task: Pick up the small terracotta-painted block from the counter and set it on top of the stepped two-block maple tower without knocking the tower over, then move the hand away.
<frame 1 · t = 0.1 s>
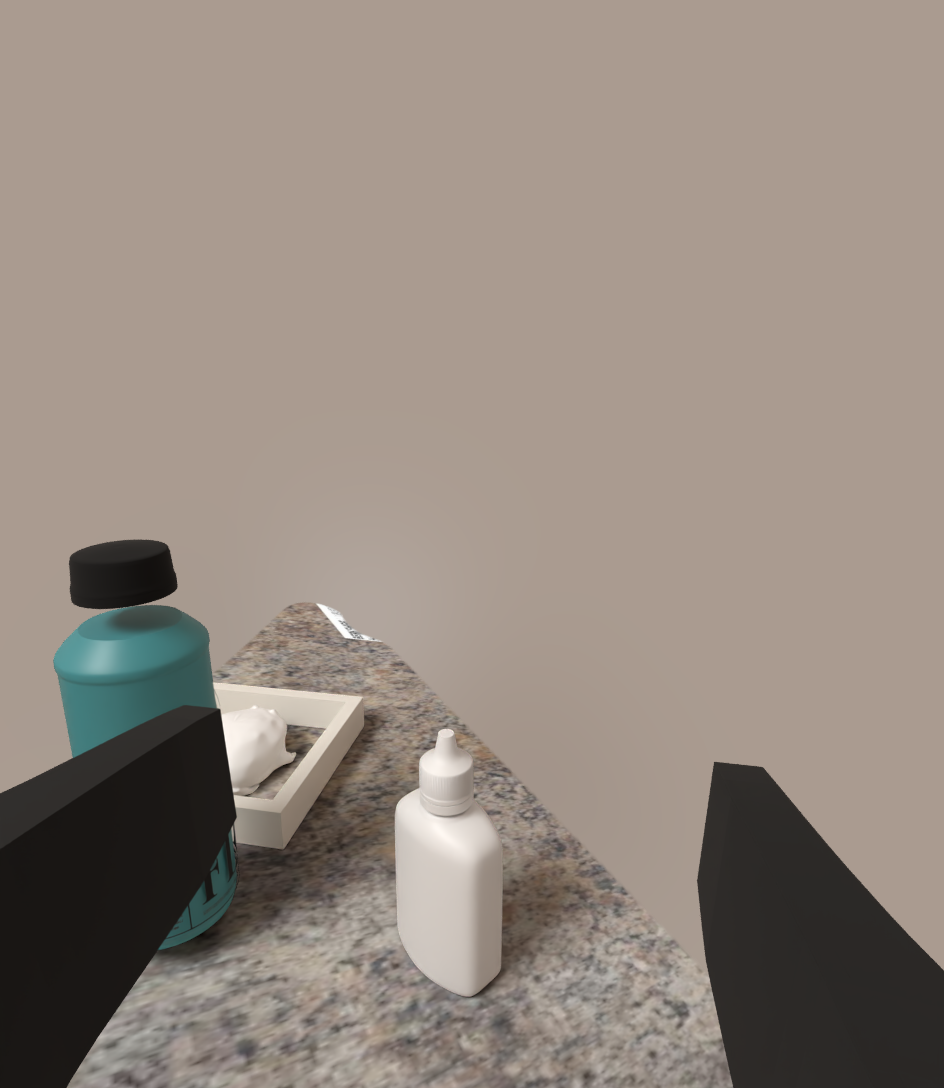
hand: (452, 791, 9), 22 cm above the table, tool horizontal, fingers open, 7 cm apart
beverage bottle: (175, 927, 33), on the table
white rounded lump: (240, 771, 47), resting in garlic dish
eye dropper bottle: (447, 955, 32), on the table
garlic dish: (236, 767, 46), on the table
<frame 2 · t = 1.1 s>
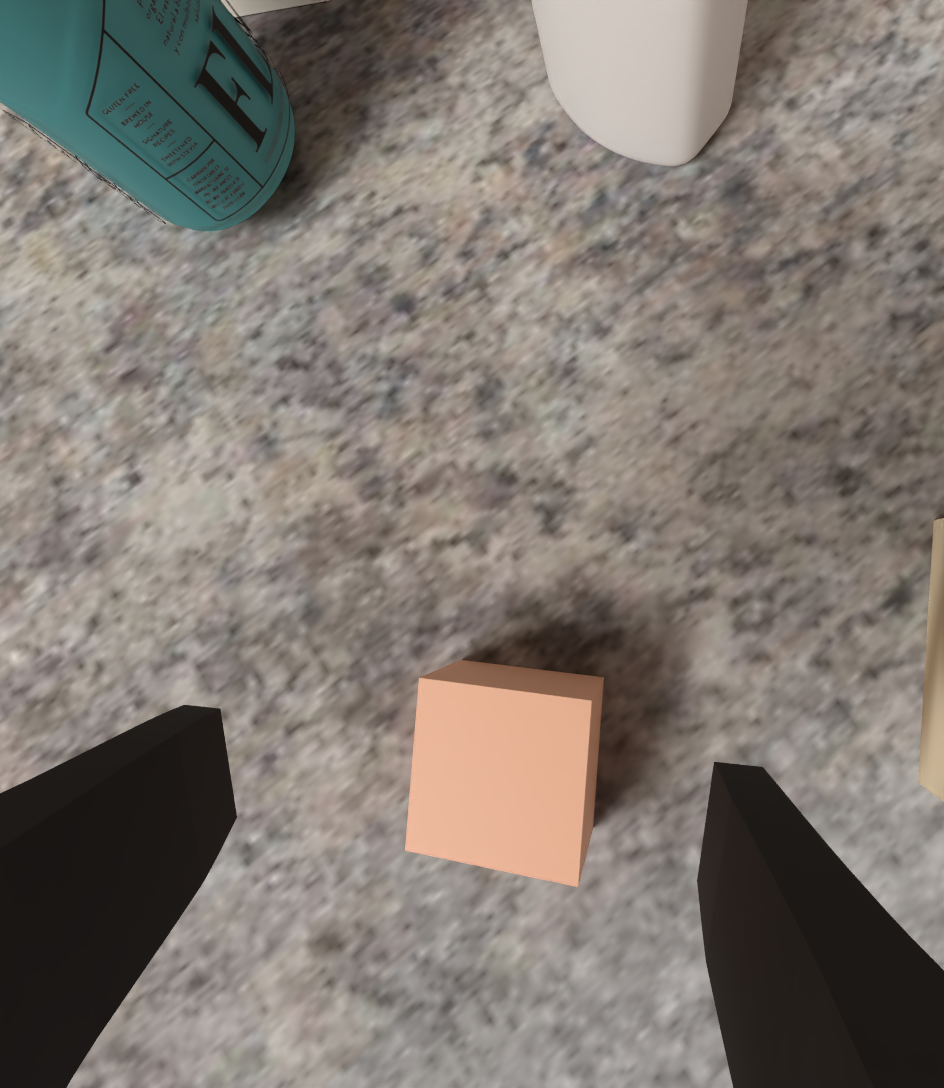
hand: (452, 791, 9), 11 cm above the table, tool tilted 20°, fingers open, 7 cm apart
beverage bottle: (246, 176, 24), on the table
eye dropper bottle: (636, 106, 20), on the table
terracotta block: (525, 740, 20), on the table
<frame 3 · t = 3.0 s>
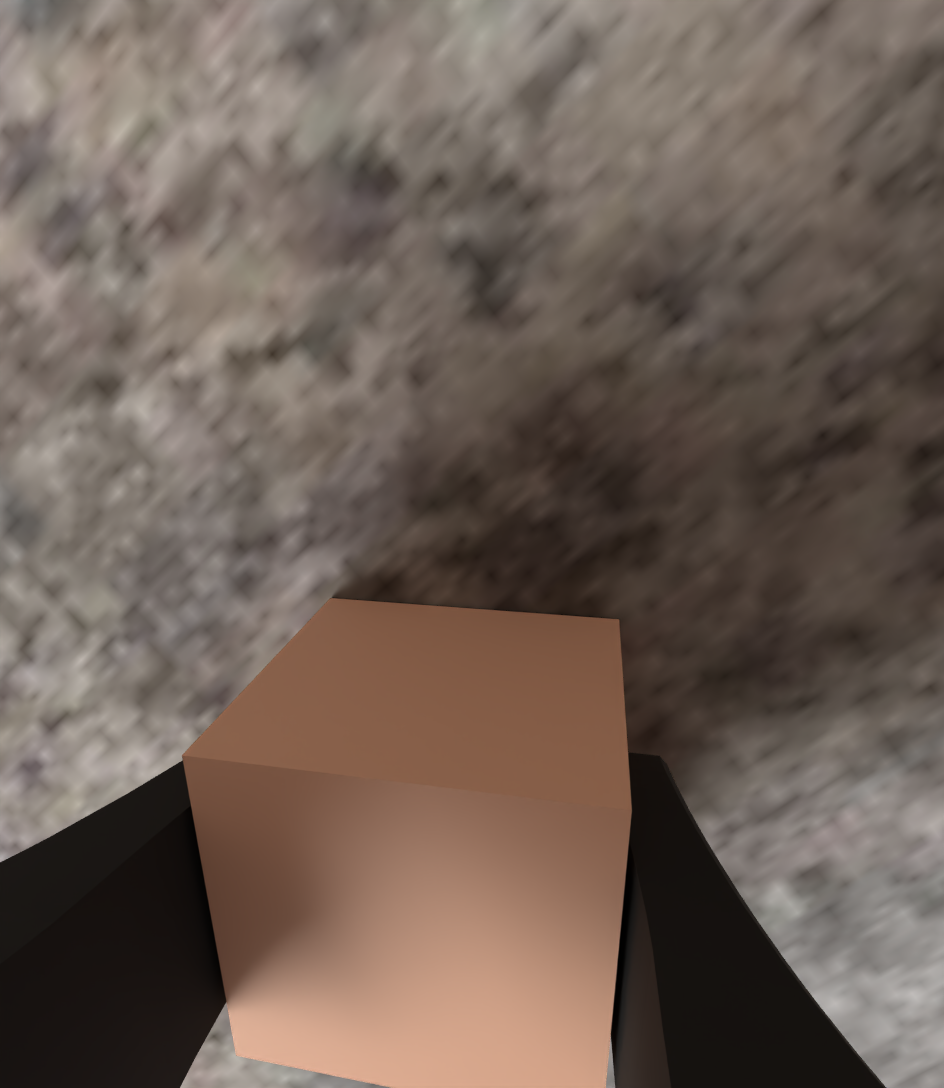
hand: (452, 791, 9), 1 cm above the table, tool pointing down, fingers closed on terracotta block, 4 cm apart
terracotta block: (470, 732, 11), on the table, touching gripper
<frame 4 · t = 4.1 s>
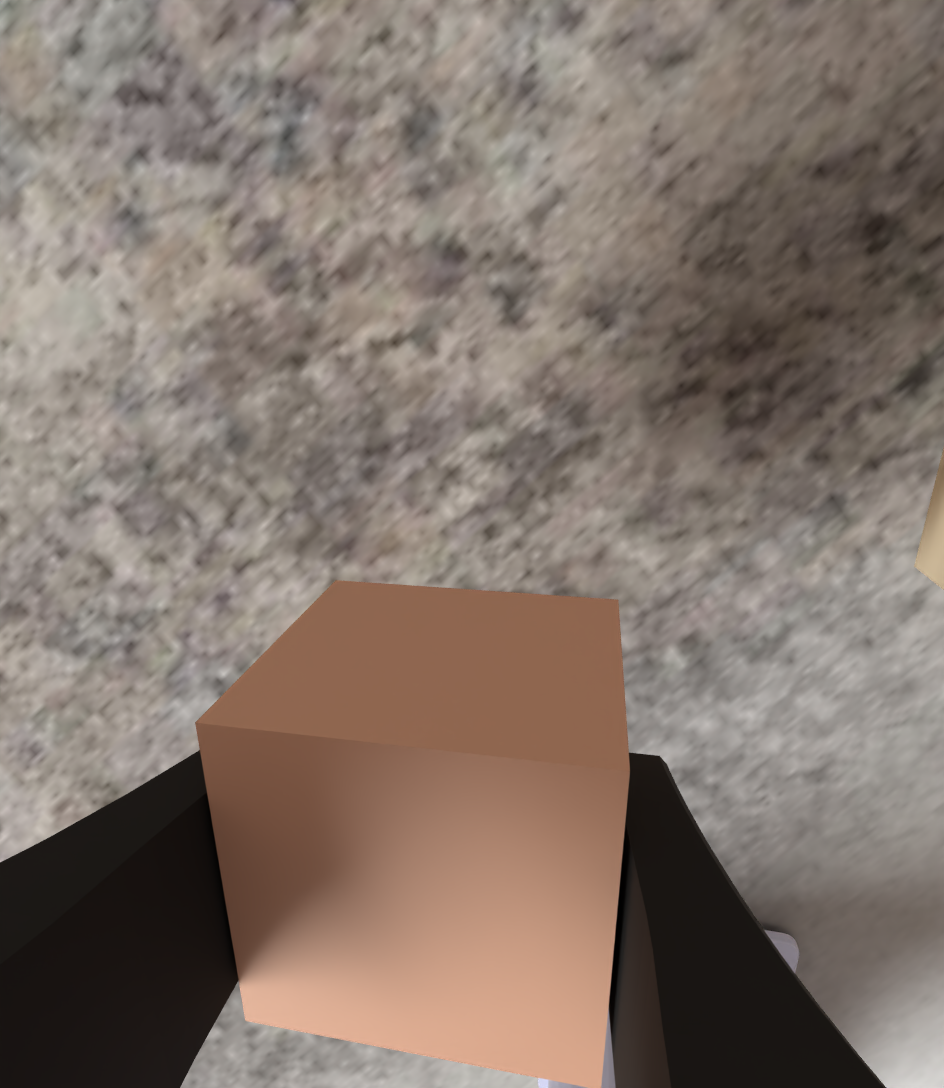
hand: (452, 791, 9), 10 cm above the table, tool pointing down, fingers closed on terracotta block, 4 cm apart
terracotta block: (472, 712, 11), point 8 cm above the table, touching gripper
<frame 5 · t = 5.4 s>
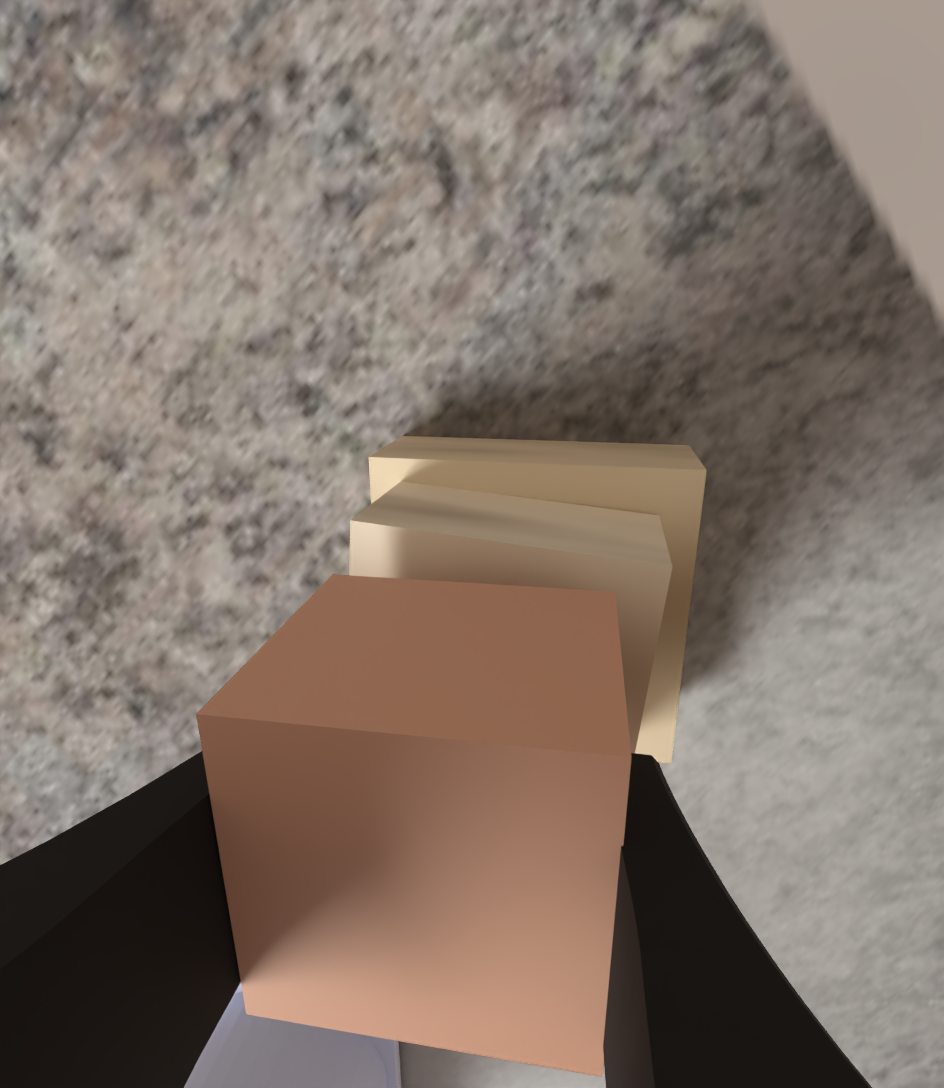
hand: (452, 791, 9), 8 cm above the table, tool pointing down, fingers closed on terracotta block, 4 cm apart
tower base: (537, 568, 18), on the table, touching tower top
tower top: (512, 614, 15), point 3 cm above the table, touching tower base
terracotta block: (470, 705, 11), point 7 cm above the table, touching gripper
when the fingers open (8 cm above the table, at t = 5.7 s): terracotta block drops 1 cm, resting on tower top.
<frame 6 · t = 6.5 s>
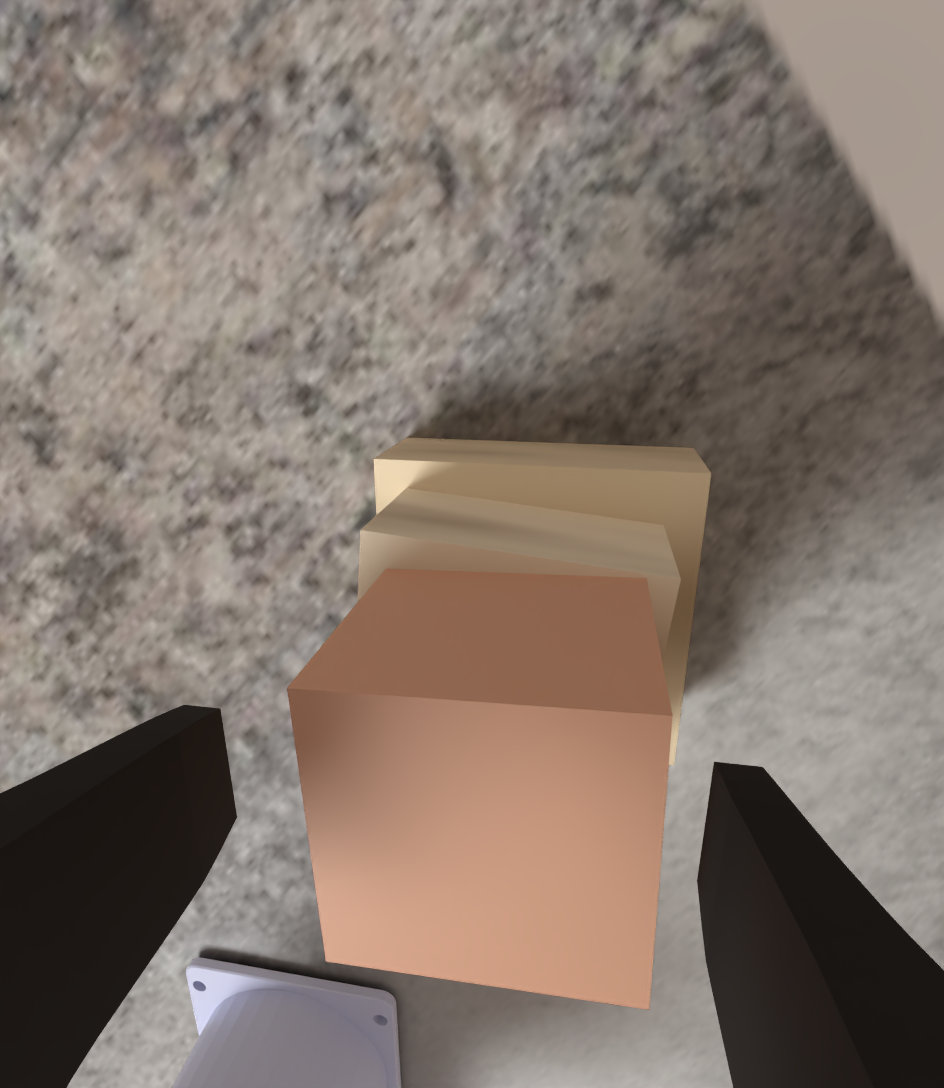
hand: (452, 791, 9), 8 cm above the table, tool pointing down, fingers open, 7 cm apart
tower base: (540, 569, 18), on the table, touching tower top
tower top: (516, 621, 15), point 3 cm above the table, touching terracotta block, tower base
terracotta block: (512, 687, 12), point 6 cm above the table, touching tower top
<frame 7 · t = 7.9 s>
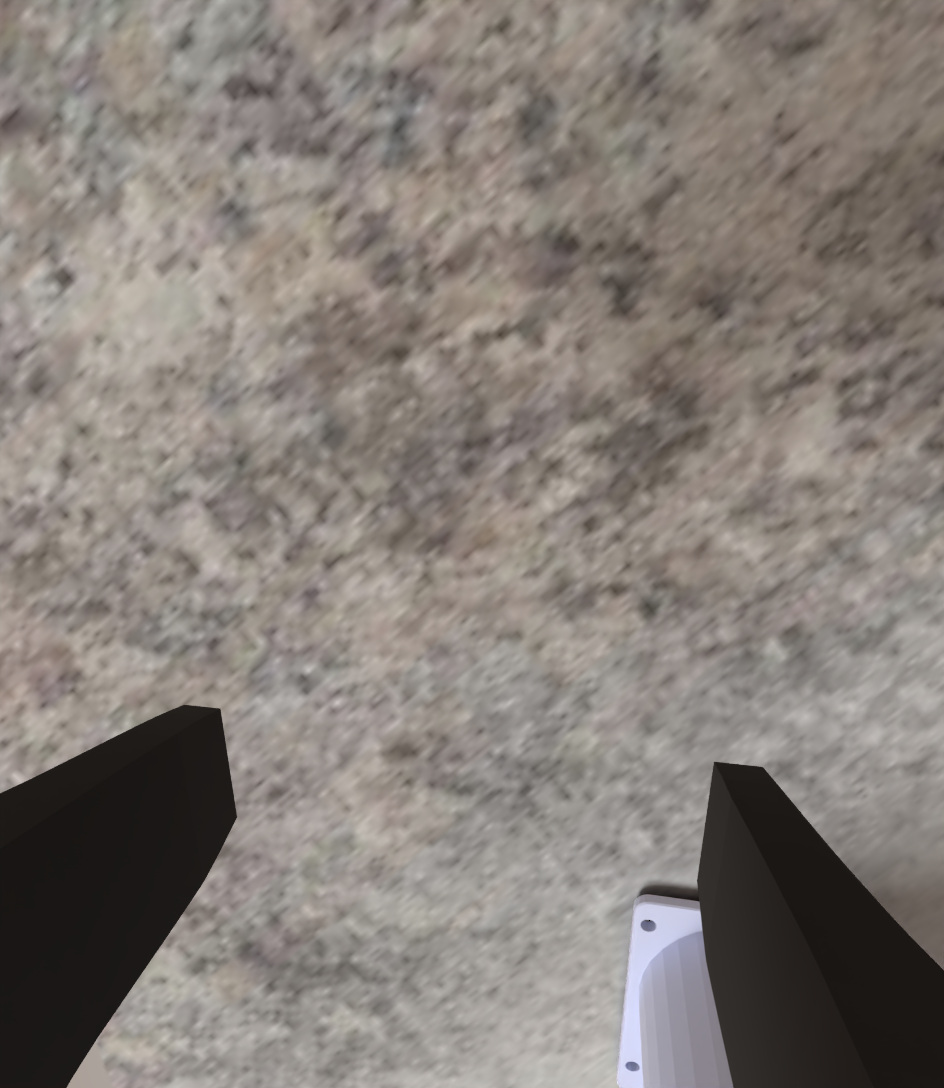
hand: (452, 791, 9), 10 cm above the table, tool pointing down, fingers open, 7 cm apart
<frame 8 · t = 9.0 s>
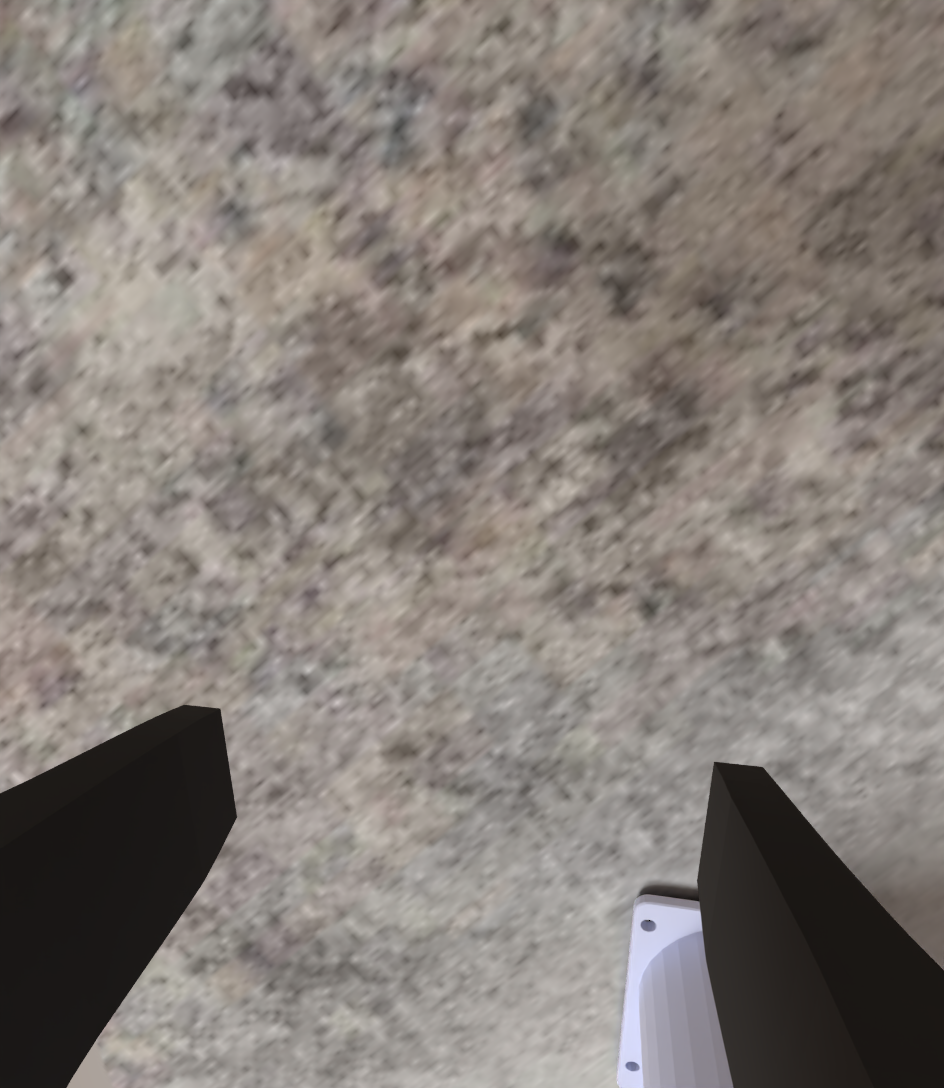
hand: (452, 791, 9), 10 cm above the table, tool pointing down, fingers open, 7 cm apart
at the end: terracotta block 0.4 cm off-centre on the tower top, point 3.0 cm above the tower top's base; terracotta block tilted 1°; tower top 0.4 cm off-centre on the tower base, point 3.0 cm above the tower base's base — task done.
